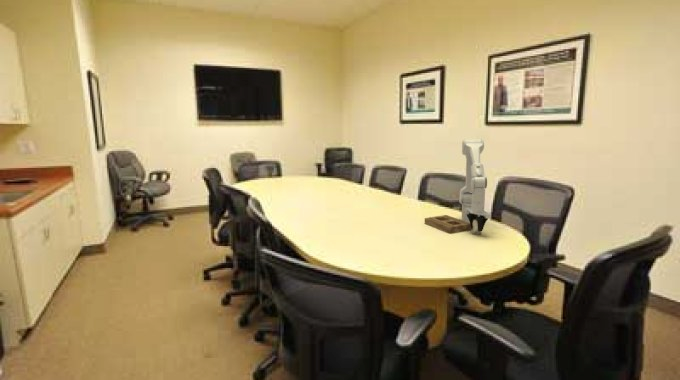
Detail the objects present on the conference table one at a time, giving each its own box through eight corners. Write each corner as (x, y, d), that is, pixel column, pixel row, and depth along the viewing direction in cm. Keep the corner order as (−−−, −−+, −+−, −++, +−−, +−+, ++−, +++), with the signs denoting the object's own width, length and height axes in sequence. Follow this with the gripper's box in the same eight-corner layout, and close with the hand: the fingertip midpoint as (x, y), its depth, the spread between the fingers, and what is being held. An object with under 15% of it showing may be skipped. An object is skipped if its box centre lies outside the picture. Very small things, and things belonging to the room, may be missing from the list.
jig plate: (446, 220, 203) (446, 214, 203) (472, 229, 185) (472, 223, 185) (424, 223, 198) (424, 218, 197) (449, 233, 180) (449, 227, 179)
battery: (476, 232, 181) (477, 217, 180) (483, 234, 177) (483, 219, 176) (470, 233, 180) (470, 218, 178) (476, 235, 176) (477, 220, 175)
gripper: (460, 199, 181) (459, 227, 183) (482, 205, 168) (481, 235, 170) (472, 198, 183) (471, 225, 186) (494, 204, 170) (493, 232, 173)
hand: (476, 229), depth 178 cm, fingers closed on battery, 4 cm apart
